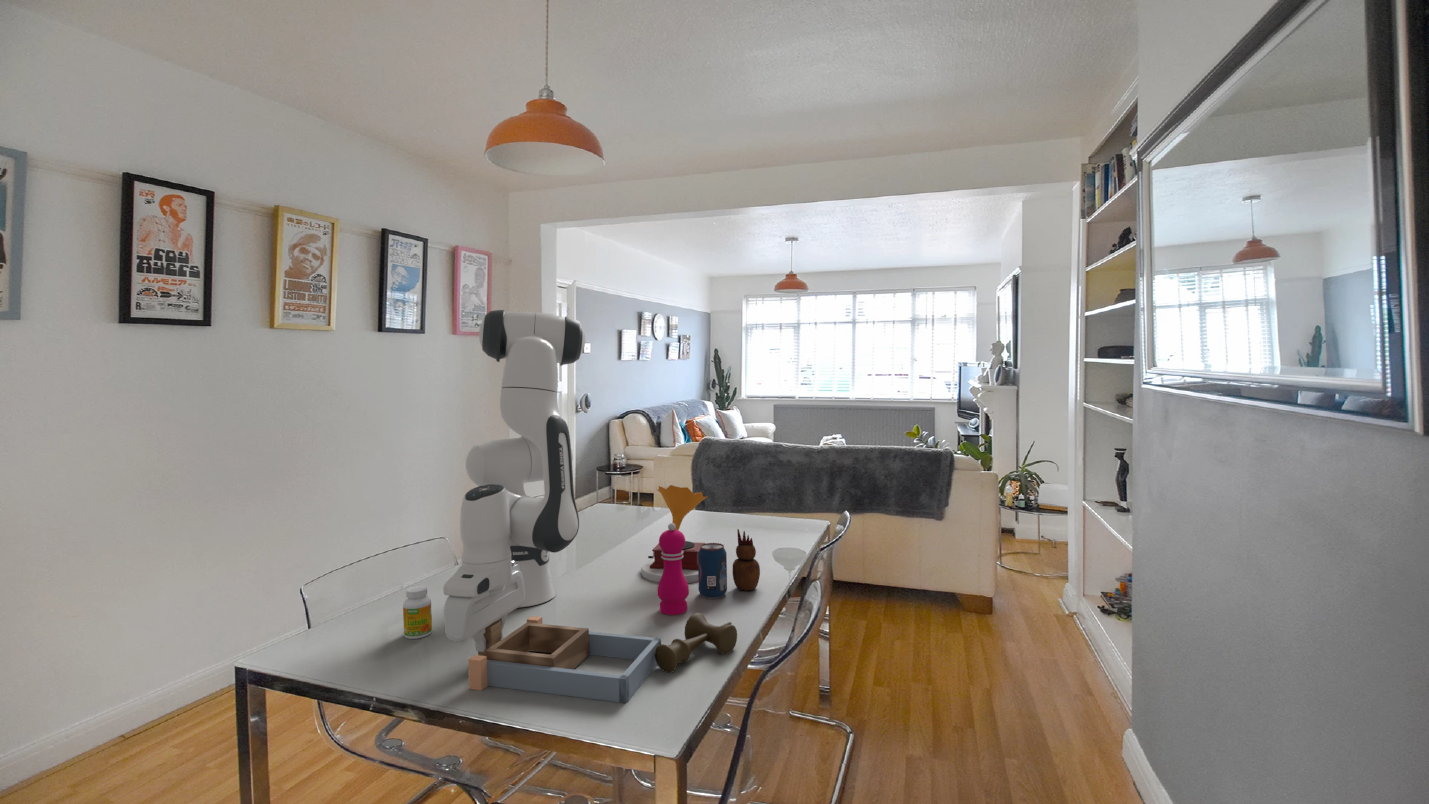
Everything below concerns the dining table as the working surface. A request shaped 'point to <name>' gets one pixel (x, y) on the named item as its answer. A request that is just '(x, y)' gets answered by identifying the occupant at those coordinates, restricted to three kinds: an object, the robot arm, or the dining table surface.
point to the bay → (569, 679)
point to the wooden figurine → (745, 565)
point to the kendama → (695, 642)
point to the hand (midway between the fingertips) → (489, 645)
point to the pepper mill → (672, 573)
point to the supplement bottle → (417, 613)
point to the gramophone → (679, 506)
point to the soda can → (712, 570)
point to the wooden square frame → (538, 645)
